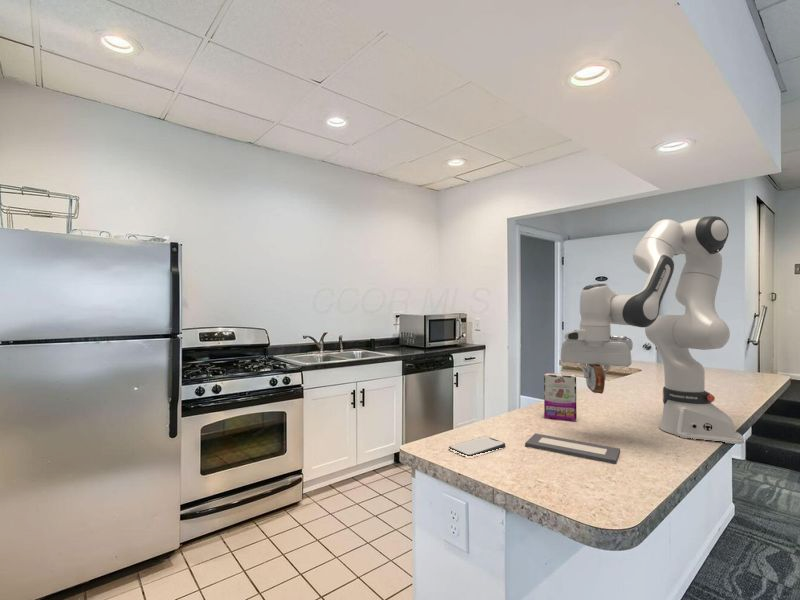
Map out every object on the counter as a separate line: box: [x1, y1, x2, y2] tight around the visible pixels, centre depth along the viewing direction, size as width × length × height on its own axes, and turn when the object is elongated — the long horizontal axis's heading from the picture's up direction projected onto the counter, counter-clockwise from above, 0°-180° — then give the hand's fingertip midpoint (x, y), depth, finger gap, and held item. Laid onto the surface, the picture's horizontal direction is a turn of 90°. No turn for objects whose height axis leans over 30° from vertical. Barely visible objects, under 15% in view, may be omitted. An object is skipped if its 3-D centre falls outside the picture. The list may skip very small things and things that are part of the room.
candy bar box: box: [543, 372, 578, 422], centre depth 151 cm, size 11×5×16 cm, turn 68°
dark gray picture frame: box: [524, 432, 621, 465], centre depth 119 cm, size 24×11×1 cm, turn 57°
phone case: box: [448, 435, 506, 456], centre depth 119 cm, size 9×2×16 cm
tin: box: [585, 364, 606, 395], centre depth 129 cm, size 15×3×8 cm, turn 166°
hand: (594, 378), depth 129 cm, fingers closed on tin, 3 cm apart
